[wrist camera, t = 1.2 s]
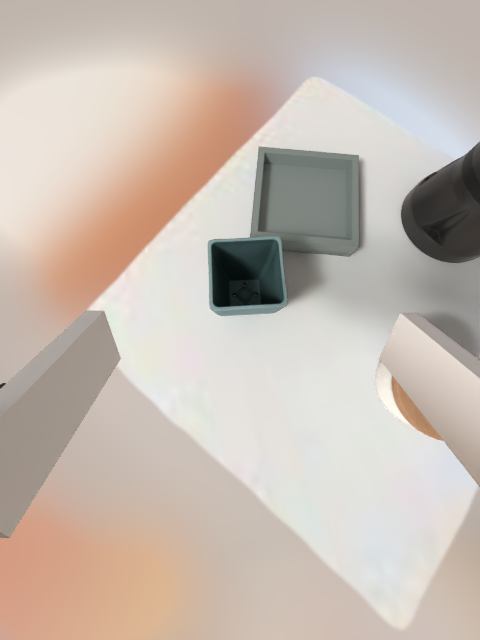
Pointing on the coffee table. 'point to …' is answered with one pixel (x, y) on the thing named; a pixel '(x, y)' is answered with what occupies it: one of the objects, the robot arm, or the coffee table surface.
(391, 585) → the coffee table surface
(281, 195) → the tray
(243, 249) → the flower pot
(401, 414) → the lidded jar
